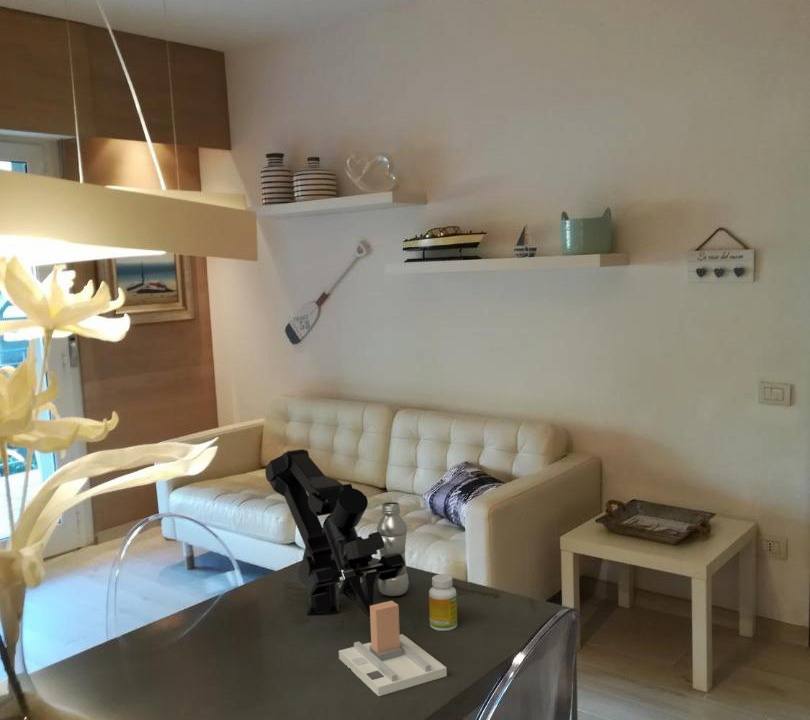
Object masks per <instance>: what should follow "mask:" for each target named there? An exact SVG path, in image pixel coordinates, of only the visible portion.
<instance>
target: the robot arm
mask: <svg viewBox="0 0 810 720" xmlns="http://www.w3.org/2000/svg"><path fill="white" fill-rule="evenodd" d="M309 454H310V453H309V451H308V450H306V449H303V448H302V449H295V450H294V449H293V450H292V449H291V450H287V451H286V452H284V453H283V454H282V455H280V456H278V457H277V458H274V459H272V460H270V461H269V463H268V464H267V465H266V467H265V478H266V480H267V481H268V483H269V485H270V486H271V488H272V489H273V491H274V492H275V493H277V494H279V495H281V496H282V497H284V500H285V501H286V504H287V506H288V508H289V509H288V510H289V511H290V513H291V516H292V518H293V520H294V523H295V525H296V528H297V529H298V533H299V534H300V536H301V539H302V541H303V544H304V546H305V548H304V552H303V555H302V561H301V563H300V566H299V568H298V569H297V572H298V573H297V574H298V577H299V582H301V583H302V584H303V585H304V586H305V590H306V592H307V595H308V603H307V611H306V615H311V616H312V615H313V616H314V615H326V614H327V615H328V614H339V611H340V599H338V596H337V595H339V596H340V595H343V596H345V598H347V599H349V600H350V601H351V602H352V603H353V604H354V605H355V606H356V607H358V608H359V610H361V611H362V612H363V613H364V614H365V616H367V617H368V618H370V606H371V605H375V604H374V602H375V601H374V589H375V584H376V583H377V582H378V578H379V579H380V580H382V581H385V580H389V579H394V578H396V577H398V575H399V574H400V572H401V571H402V569H403V567H404V566H405V564H407V563H405V562H406V559H405V560H404V558H403V556H402V555H401V554H399V553H394V554H389V555H384V556H382V557H381V559H379V560H378V562H377V563H375V564H374V563H373V564H369V563H370V562H372V561H373V558H374V557H373V555H375V556H376V555H378V551H380V549H382V548H384V542H383V538H382V536H381V534H380V532H377V531H376V532H372V533H369V534H368V535H367V536H368V537H366V538H363V537H362V536H361V535H360V536H359V535H358V533H357V530H356V527H357V526H358V525H359V523H360V521H361V519H362V517H363V516H364V514H365V512H366V510H367V508H368V505H369V502H368V498H367V495H365V494H364V493H363V492H362V491H361V490H359V489H357V488H354V487H353V486H352V483H347V484H343V483H341V482H340V481H339V480H338V479H335V478H330V477H327V476H326V475H325V474H324V472H323V471H321V469H320V467H318V465H317V464H316V463H315V462H314V461H313V459H312V458H311V457H310V455H309ZM324 515H325V516H326V515H327V516H326V518H324V521H323V523H321V521H320V519H319V517H321V516H324ZM337 586H338V588H339V589H338V590H337Z"/></svg>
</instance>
